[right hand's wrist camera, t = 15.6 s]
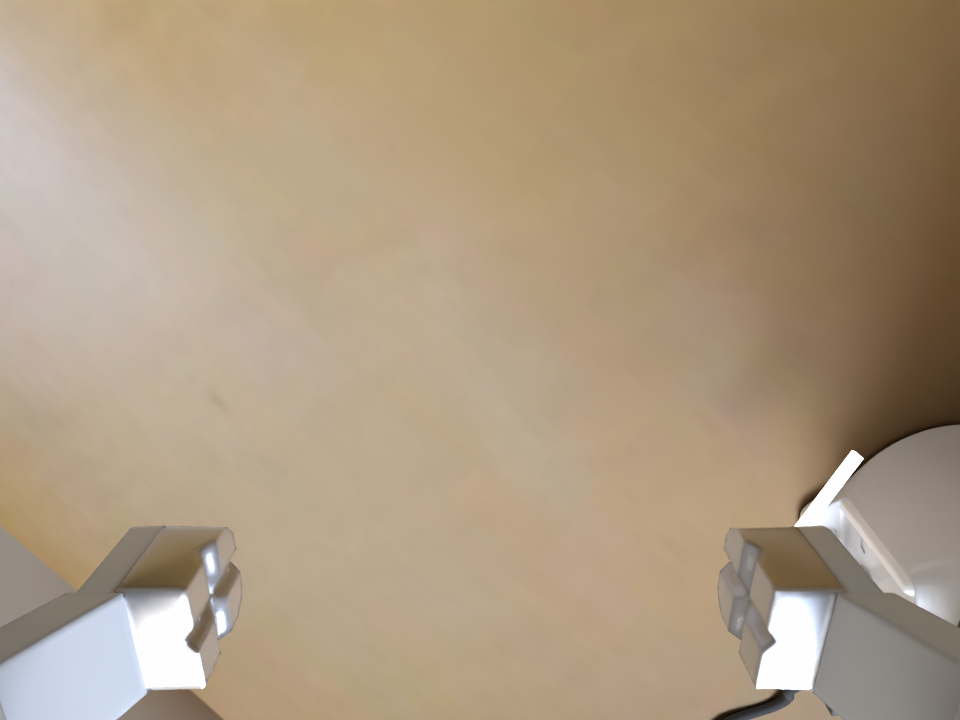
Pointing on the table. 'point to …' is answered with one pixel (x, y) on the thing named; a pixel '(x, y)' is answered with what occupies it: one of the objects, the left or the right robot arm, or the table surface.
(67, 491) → the table surface
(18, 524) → the table surface
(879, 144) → the table surface
